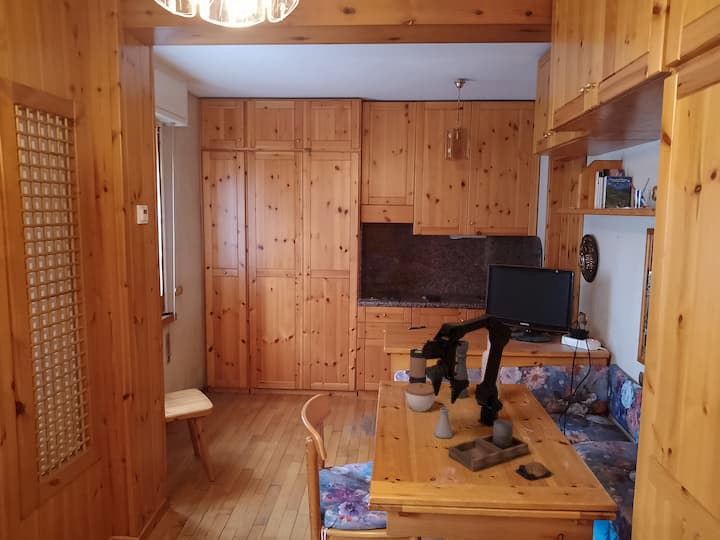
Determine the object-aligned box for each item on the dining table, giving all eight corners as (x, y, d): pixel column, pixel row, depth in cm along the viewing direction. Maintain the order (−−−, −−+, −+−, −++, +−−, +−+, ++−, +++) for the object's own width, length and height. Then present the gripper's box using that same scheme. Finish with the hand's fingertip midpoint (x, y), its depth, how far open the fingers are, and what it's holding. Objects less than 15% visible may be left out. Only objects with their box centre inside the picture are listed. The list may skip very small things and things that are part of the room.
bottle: (477, 401, 224) (479, 334, 221) (484, 396, 230) (486, 331, 227) (495, 405, 219) (497, 337, 216) (501, 400, 226) (504, 333, 222)
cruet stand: (501, 440, 186) (502, 413, 185) (527, 453, 176) (529, 425, 175) (448, 456, 173) (449, 427, 172) (473, 471, 163) (474, 441, 162)
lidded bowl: (439, 407, 217) (440, 381, 216) (427, 416, 207) (427, 390, 206) (413, 401, 224) (413, 376, 223) (399, 410, 214) (400, 384, 212)
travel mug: (415, 397, 228) (416, 353, 226) (405, 392, 235) (406, 349, 233) (429, 395, 232) (430, 351, 230) (419, 389, 239) (420, 347, 236)
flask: (453, 440, 186) (454, 413, 185) (433, 438, 187) (433, 411, 186) (453, 431, 193) (454, 406, 192) (434, 430, 194) (435, 404, 193)
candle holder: (451, 393, 234) (453, 340, 231) (465, 393, 234) (466, 339, 231) (455, 398, 227) (457, 343, 225) (469, 398, 228) (471, 343, 225)
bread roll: (536, 465, 169) (536, 454, 169) (556, 476, 162) (556, 465, 161) (511, 471, 164) (512, 460, 164) (531, 484, 157) (531, 472, 156)
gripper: (415, 352, 191) (411, 393, 192) (447, 365, 175) (443, 410, 176) (438, 351, 197) (434, 391, 198) (472, 364, 181) (467, 407, 182)
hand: (444, 399), depth 188 cm, fingers open, 9 cm apart
